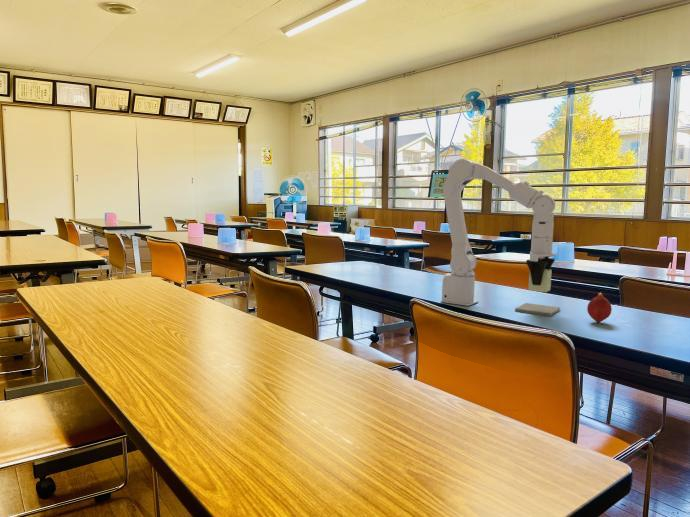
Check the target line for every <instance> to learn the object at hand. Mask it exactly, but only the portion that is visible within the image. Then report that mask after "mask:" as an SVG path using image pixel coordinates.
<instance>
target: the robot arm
mask: <svg viewBox="0 0 690 517" xmlns="http://www.w3.org/2000/svg"><path fill="white" fill-rule="evenodd" d="M474 180H485V181H487V182H489V183H490V184H492V185H495V186H496V187H498V188H501V189H503V190H505V191H506V192H508V196H509V198H510V199H511V200H513V201H514V202H516V203H518V204H519V205H522V206H523V207H525V208H526V209H532V212H533V219H532V225H531V240H530V241H531V244H530V245H531V247H530V251H529V259H526V261H525V262H526V265H527V267H528V269H529V272H530V274H531V279H532V284H533V285H541V282H542V277H543V273H544V270H545V269H549V270H551V268H552V266H553V264H554V263H555V261H556V259H555V258H552V257H555V256H557V253H556V252H553V241H554V240H553V239H554V227H555V226H554V225H555V223H554V222H555V221H554V219H555V218H554V217H555V215H554V210H555V209H556V201H555V200H554V198H553V197H552V196H550V195H549V194H544V193H545V191H543V190H538V189H536V188H535V187H533V186H531V185H530V183H529V182H528V181H526V180H525V181H522V180H518V181H516V182H514V181H512V180H510V179H509V178H508V177H505V175H502V174H500V173H499V172H497V171H495V170H493V169H491V168H490V167H488V166H486V165H483V164H480V163H477V162H475V161H473V160H469V159H467V158H459V159H457V160H456V161H454V162H453V164H452V165H451V166H449V168H448V173H447V176H446V179H445V181H444V184H443V187H442V194H443V198H444V204H445V210H446V217H447V221H448V227H449V233H450V234H449V235H450V239H451V244H452V245H451V250H450V251H451V252H450V254H451V259H450V263H449V266H450V267H449V268H450V269H451V272H448V273H445V274H444V276H443V278H442V286H441V300H440V302H441V303H448V304H454V305H460V306H467V307H470V306H472V305H475V304H476V303H479V302H480V301H479V300H477V299H475V287H476V286H475V283H476V273H475V271H474V269H475V268H476V267H477V264H478V261H477V257H476V256H475V254H474V253H473V250H472V247H471V245H470V241H469V237H468V231H467V226H466V220H465V214H464V206H463V201H462V200H463V199H462V195H461V192H462V191H463V190H464V188H465V187H466V186H467V185H469V183H471V182H473V181H474Z"/></svg>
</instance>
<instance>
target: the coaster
mask: <svg viewBox="0 0 690 517" xmlns="http://www.w3.org/2000/svg"><path fill="white" fill-rule="evenodd" d="M560 310H561V307H559V306H553V305H552V306H551V305H544V304H537V303H536V304H535V303H528V302H524V303H523V304H521V305H519V306H517V307H516V308H514V312H519V313H526V314H533V315H540V316H545V317H552V316H553V315H555V314H556V313H558V312H560Z"/></svg>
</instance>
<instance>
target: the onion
mask: <svg viewBox="0 0 690 517" xmlns="http://www.w3.org/2000/svg"><path fill="white" fill-rule="evenodd" d="M612 308H613V307H612V305H611V302H610V301H609V300H608V299H607V298H606V297H605V296H604V295H603V293H602V292H598V294H597V296H595V297H593V298H592V299H591V300H590V301H589V302H588V304H587V307H586V309H587V310H586V312H587V313H588V315H589V317H590V318H591V319H592V320H593V321H595V322H596V323H601V322H603V321H604V320H607V319H608V318H609V317H610V316H611V314H612V310H613V309H612Z"/></svg>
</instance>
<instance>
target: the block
mask: <svg viewBox="0 0 690 517" xmlns="http://www.w3.org/2000/svg"><path fill="white" fill-rule="evenodd" d="M528 273H529V275H528V276H529V277H528V291H533V292H541V293H547V292H550V291H551V286H552V273H553V272H552V269H550V270H549V269H545V270H544V273H543V277H542V282H541V285H533V284H532V279H531V274H530V271H529V272H528Z"/></svg>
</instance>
